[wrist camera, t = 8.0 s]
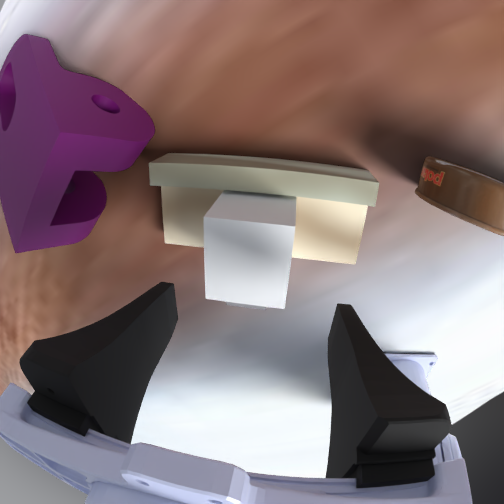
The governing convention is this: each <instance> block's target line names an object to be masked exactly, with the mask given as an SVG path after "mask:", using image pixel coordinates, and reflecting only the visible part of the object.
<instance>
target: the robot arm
mask: <svg viewBox="0 0 504 504" xmlns="http://www.w3.org/2000/svg"><path fill="white" fill-rule="evenodd" d="M177 320H178V315H177V307H176V298H175V290H174V284H173V283H166V282H160V283H159V284H157V285H156V286H154V287H153V288H151V289H150V290H148V291H147V292H145V293H144V294H143V295H141V296H140V297H138V298H137V299H135V300H134V301H132V302H131V303H129V304H128V305H126V306H124V307H123V308H121V309H120V310H118V311H116V312H115V313H113V314H111V315H109V316H108V317H106V318H104V319H102V320H100V321H98V322H96V323H93V324H91V325H89V326H86V327H84V328H81V329H79V330H76V331H73V332H70V333H67V334H63V335H60V336H56V337H52V338H47V339H42V340H36V341H34V342H33V343H32V345H31V346H30V347H29V348H28V350H27V351H26V352H25V353H24V354H23V356H22V357H21V358H20V366H21V369H22V371H23V373H24V375H25V376H26V378H27V379H28V381H29V382H30V384H31V386H32V387H33V389H34V390H35V392H34V393H33V395H31V394H30V393H28V392H27V391H26V390H24V389H22V388H20V387H19V386H17V385H15V384H14V383H10V384H9V386H8V387H7V388H6V390H5V391H4V392H3V394H2V395H1V397H0V437H1V438H2V439H3V440H5V442H6V443H7V444H8V445H9V446H11V447H12V448H13V449H14V450H16V451H17V452H18V453H20V454H21V455H23V456H24V457H26V458H27V459H29V460H30V461H32V462H33V463H35V464H36V465H38V466H39V467H41V468H43V469H44V470H46V471H47V472H49V473H51V474H52V475H54V476H56V477H57V478H59V479H60V480H62V481H64V482H66V483H67V484H69V485H71V486H73V487H74V488H76V489H78V490H80V491H82V492H84V493H86V494H87V495H88V496H87V499H86V501H85V503H84V504H472V498H471V492H470V486H469V480H468V475H467V470H466V465H465V460H464V459H463V458H462V456H461V452H460V449H459V445H458V442H457V439H456V437H455V436H453V435H450V434H449V432H450V431H451V428H452V425H451V421H450V416H449V413H448V410H447V407H446V404H444V403H442V402H441V401H439V400H438V399H436V398H434V397H433V396H431V393H430V389H429V386H428V382H427V379H426V378H427V376H428V375H429V373H430V371H431V370H432V368H433V366H434V365H435V363H436V361H437V359H438V357H437V355H422V354H384V353H383V352H382V350H381V349H380V348H379V346H378V345H377V344H376V342H375V341H374V340H373V338H372V337H371V335H370V334H369V332H368V331H367V329H366V328H365V326H364V325H363V323H362V322H361V320H360V318H359V317H358V315H357V313H356V312H355V310H354V309H353V307H352V306H351V305H348V304H337V307H336V311H335V315H334V318H333V322H332V326H331V330H330V333H329V337H328V366H329V377H330V387H331V399H332V417H331V434H330V447H329V456H328V465H327V472H326V478H302V477H287V476H276V475H266V474H258V473H250V472H245V470H243V469H241V468H239V467H237V466H235V465H233V464H229V463H225V462H221V461H217V460H212V459H207V458H202V457H198V456H193V455H189V454H185V453H181V452H177V451H173V450H169V449H165V448H162V447H158V446H155V445H151V444H146V443H136V444H132V445H131V440H132V436H133V431H134V427H135V424H136V420H137V417H138V413H139V410H140V407H141V403H142V400H143V397H144V394H145V392H146V389H147V386H148V383H149V381H150V378H151V376H152V374H153V372H154V370H155V368H156V366H157V364H158V362H159V360H160V358H161V356H162V354H163V353H164V351H165V349H166V347H167V345H168V343H169V341H170V339H171V337H172V334H173V332H174V329H175V326H176V323H177Z"/></svg>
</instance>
